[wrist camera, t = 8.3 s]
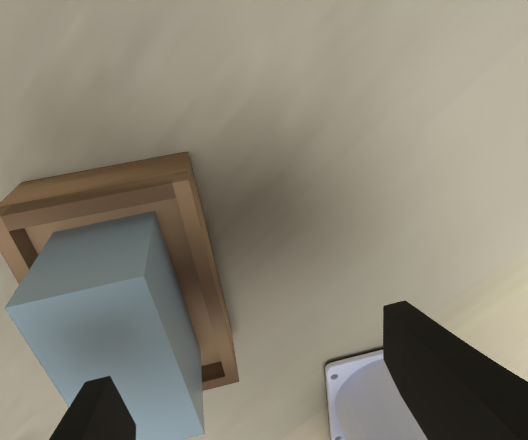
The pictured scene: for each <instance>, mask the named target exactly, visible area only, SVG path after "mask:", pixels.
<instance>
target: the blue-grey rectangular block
mask: <svg viewBox="0 0 528 440" xmlns="http://www.w3.org/2000/svg"><path fill="white" fill-rule="evenodd" d="M5 309H6V311H7V313H8V314H9V316H10V317H11V319H12V320H13V322H14V323H15V325H16V326H17V328H18V330H19V331H20V333H21V334H22V336H23V337H24V339H25V340H26V342H27V344H28V345H29V347H30V348H31V350H32V351H33V353H34V354H35V356H36V358H37V359H38V361H39V362H40V364H41V365H42V367H43V368H44V370H45V371H46V373H47V375H48V376H49V378H50V379H51V381H52V382H53V384H54V385H55V387H56V389H57V390H58V392H59V393H60V395H61V396H62V398H63V399H64V401H65V403H66V404H67V406H68V407H70V405H71V403H72V402H73V400H74V399H75V397H76V395H77V394H78V392H79V391H80V389H81V388H82V386H83V384H84V383H85V382H87V381H91V380H95V379H98V378H102V377H106V376H111V378H112V380H113V382H114V384H115V386H116V388H117V390H118V392H119V393H120V395H121V397H122V399H123V401H124V403H125V405H126V407H127V409H128V410H129V412H130V414H131V416H132V418H133V420H134V422H135V424H136V440H184V439H188V438H191V437H195V436H199V435H202V434H204V415H203V393H202V371H201V349H200V346H199V343H198V340H197V337H196V334H195V331H194V328H193V325H192V322H191V319H190V316H189V312H188V309H187V306H186V303H185V300H184V297H183V294H182V291H181V288H180V285H179V282H178V279H177V276H176V273H175V270H174V267H173V264H172V261H171V258H170V255H169V252H168V249H167V246H166V243H165V240H164V237H163V234H162V231H161V227H160V224H159V221H158V218H157V215H156V212H155V211H150V212H145V213H141V214H136V215H131V216H127V217H122V218H117V219H113V220H108V221H103V222H99V223H94V224H89V225H85V226H80V227H75V228H71V229H66V230H61V231H57V232H53V233H52V235H51V236H50V238H49V240H48V241H47V243H46V244H45V246H44V247H43V249H42V251H41V252H40V254H39V255H38V257H37V258H36V260H35V261H34V263H33V265H32V266H31V268H30V269H29V271H28V272H27V274H26V276H25V277H24V279H23V280H22V282H21V283H20V285H19V286H18V288H17V290H16V291H15V293H14V294H13V296H12V297H11V299H10V300H9V302H8V304H7V305H6V307H5Z"/></svg>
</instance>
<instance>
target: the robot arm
mask: <svg viewBox="0 0 528 440" xmlns="http://www.w3.org/2000/svg"><path fill="white" fill-rule="evenodd" d="M325 375H326V388H327V400H328V413H329V425H330V438H331V440H528V382H527V381H525V380H524V379H522V378H520V377H519V376H517V375H515V374H514V373H512V372H510V371H509V370H507V369H506V368H504V367H502V366H501V365H499V364H498V363H496V362H494V361H493V360H491V359H490V358H488V357H487V356H485V355H484V354H482V353H481V352H479V351H478V350H476V349H475V348H473V347H472V346H470V345H469V344H467V343H465V342H464V341H463V340H461V339H460V338H458V337H457V336H455V335H454V334H452V333H451V332H449V331H448V330H447V329H445V328H444V327H442V326H441V325H439V324H438V323H437V322H435V321H434V320H432V319H431V318H429V317H428V316H427V315H425V314H424V313H422V312H421V311H420V310H418V309H417V308H415V307H414V306H412V305H411V304H410V303H408V302H407V301H401V302H397V303H394V304H390V305H386V306H384V319H383V350H379V351H375V352H371V353H367V354H363V355H359V356H355V357H351V358H347V359H343V360H339V361H335V362H331V363H329V364H328V365H327V366H326V367H325ZM49 440H136V424H135V422H134V420H133V418H132V416H131V414H130V412H129V410H128V409H127V407H126V405H125V403H124V401H123V399H122V397H121V395H120V393H119V392H118V390H117V388H116V386H115V384H114V382H113V380H112V378H111V376H106V377H102V378H98V379H95V380H91V381H87V382H85V383H84V384H83V386H82V388H81V389H80V391H79V392H78V394H77V395H76V397H75V399H74V400H73V402H72V403H71V405H70V407H69V408H68V410H67V412H66V413H65V415H64V416H63V418H62V420H61V421H60V423H59V425H58V426H57V428H56V429H55V431H54V433H53V434H52V436H51V437H50V439H49Z"/></svg>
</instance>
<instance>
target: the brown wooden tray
mask: <svg viewBox="0 0 528 440" xmlns="http://www.w3.org/2000/svg"><path fill="white" fill-rule="evenodd" d="M150 211H155V212H156V215H157V218H158V221H159V224H160V227H161V231H162V234H163V237H164V240H165V243H166V246H167V249H168V252H169V255H170V258H171V261H172V264H173V267H174V270H175V273H176V276H177V279H178V282H179V285H180V288H181V291H182V294H183V297H184V300H185V303H186V306H187V309H188V312H189V316H190V319H191V322H192V325H193V328H194V331H195V334H196V337H197V340H198V343H199V346H200V349H201V371H202V391H203V390H207V389H211V388H215V387H219V386H223V385H227V384H231V383H235V382H239V378H238V371H237V364H236V357H235V351H234V344H233V337H232V331H231V327H230V323H229V319H228V315H227V311H226V306H225V302H224V298H223V294H222V290H221V286H220V282H219V277H218V273H217V269H216V265H215V261H214V257H213V253H212V248H211V244H210V240H209V236H208V232H207V228H206V224H205V219H204V215H203V211H202V207H201V203H200V199H199V195H198V190H197V186H196V182H195V178H194V174H193V170H192V166H191V161H190V157H189V153H188V152H183V153H178V154H173V155H167V156H162V157H157V158H151V159H146V160H140V161H135V162H130V163H124V164H119V165H114V166H108V167H103V168H98V169H92V170H87V171H81V172H76V173H71V174H65V175H60V176H55V177H49V178H44V179H39V180H33V181H28V182H23V183H20V184H19V185H18V186H17V187H16V188H15V189H14V190H13V191H12V192H11V193H10V194H9V195H8V196H7V197H6V198H5V199H4V200H3V201H2V202H0V252H1V254H2V255H3V257H4V259H5V261H6V262H7V264H8V266H9V268H10V269H11V271H12V273H13V275H14V276H15V278H16V280H17V282H18V283H19V285H20V283H21V282H22V280H23V279H24V277H25V276H26V274H27V272H28V271H29V269H30V268H31V266H32V265H33V263H34V261H35V260H36V258H37V257H38V255H39V254H40V252H41V251H42V249H43V247H44V246H45V244H46V243H47V241H48V240H49V238H50V236H51V235H52V233H53V232H57V231H61V230H66V229H71V228H75V227H80V226H85V225H89V224H94V223H99V222H103V221H108V220H113V219H117V218H122V217H127V216H131V215H136V214H141V213H145V212H150Z"/></svg>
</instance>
